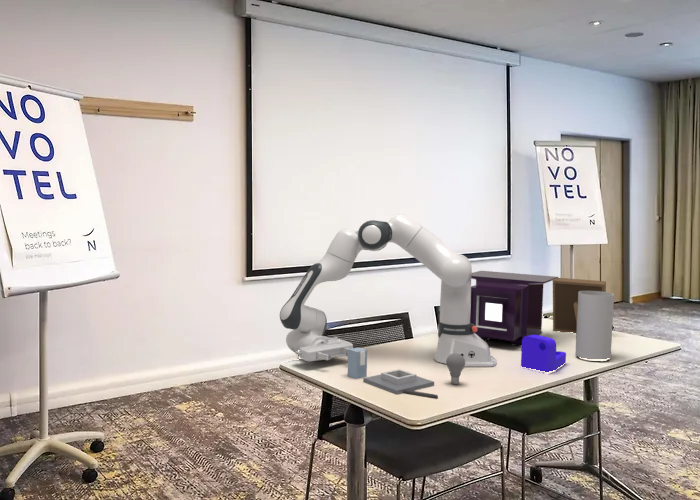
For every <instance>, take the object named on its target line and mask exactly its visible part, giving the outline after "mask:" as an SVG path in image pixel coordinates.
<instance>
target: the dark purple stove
mask: <svg viewBox="0 0 700 500" xmlns="http://www.w3.org/2000/svg"><path fill="white" fill-rule="evenodd" d="M557 278H559V276H554V275H553V276H551V275H542V274H541V275H539V274H529V273H514V272H504V271H501V272H500V271H492V270H491V271H489V270H478V271H474V272H472V275H471V280H475V285H471V308H470V323H472V324H474V325H475V326H476V327H477V329H478V330H477V332H475V334H476V335H478V336H479V337H480V338H481V339H482V340H488V341H490V340H491V339H492V340H499V341H506V342H511V345H512V344H516V345H515V346H518V345H522V339H523V337H525V336H530V335H539V336H542V334H543V331H542V330H543V329H542V327H543V326H542V325H543V304H544V302H543V300H544V284H546V283H550V282H553V280H555V279H557ZM489 339H490V340H489Z"/></svg>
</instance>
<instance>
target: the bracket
mask: <svg viewBox="0 0 700 500" xmlns="http://www.w3.org/2000/svg"><path fill="white" fill-rule="evenodd" d="M520 360H521V361H520V367H521V366H522V367H526V368H531V369H536V370H540V371H545V372H549V371H553V370H556V369H557V368H558V367H560V366H561V365H563V364H564V363H565V362H566V361H567V352H565V351H561V350H560V351H557V341H556V340H555V339H554V338H552V337H549V336H548V337H547V336H544V335H540V336H539V335H530V336H525V337H523V339H522V346H521V358H520Z"/></svg>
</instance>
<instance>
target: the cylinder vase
mask: <svg viewBox="0 0 700 500" xmlns="http://www.w3.org/2000/svg"><path fill="white" fill-rule="evenodd" d="M614 301H615V294H614V293H612V292H607V291H606V292H600V291H579V292H578V312H577V332H576V334H575V338H576V339H575V357H576V356H578V357H581V358H587V359H607V358H610V357H612V343H613V342H612V341H613V339H612V338H613V321H614V305H615V304H614Z"/></svg>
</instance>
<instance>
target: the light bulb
mask: <svg viewBox="0 0 700 500" xmlns="http://www.w3.org/2000/svg"><path fill="white" fill-rule="evenodd" d="M464 366H465V359H464V358H463V356H462V355H461V354H458V353H453V354H450V355H449V356H448V358H447V360H446V367H447V369H448V371H449V375H450V383H452V385H458V384H459V383H460V377H461V373H462V372H463V370H464V368H465V367H464Z"/></svg>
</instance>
